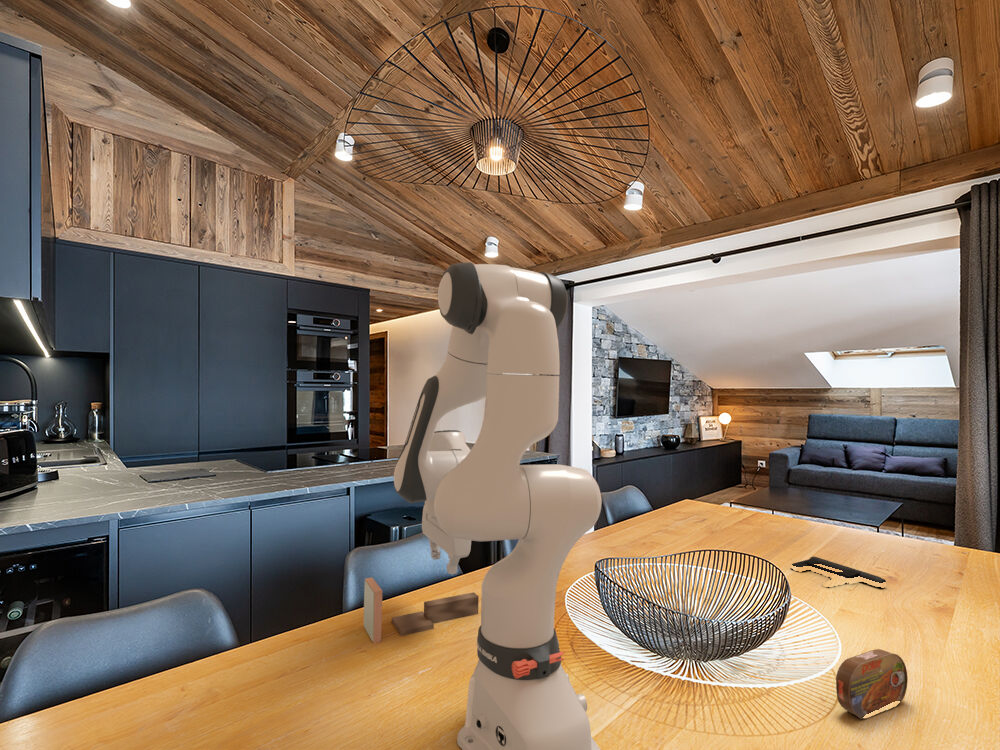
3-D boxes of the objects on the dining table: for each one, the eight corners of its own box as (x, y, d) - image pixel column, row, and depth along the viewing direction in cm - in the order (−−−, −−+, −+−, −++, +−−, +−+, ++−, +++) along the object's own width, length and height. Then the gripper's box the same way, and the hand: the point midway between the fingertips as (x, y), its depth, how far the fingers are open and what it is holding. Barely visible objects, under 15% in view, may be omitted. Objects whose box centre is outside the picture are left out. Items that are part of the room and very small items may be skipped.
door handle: (851, 588, 128) (889, 576, 134) (778, 563, 146) (815, 553, 152) (851, 602, 128) (889, 589, 134) (779, 575, 146) (815, 564, 152)
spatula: (469, 606, 118) (469, 588, 118) (482, 618, 112) (483, 600, 112) (391, 622, 109) (391, 603, 110) (401, 636, 103) (401, 616, 103)
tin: (851, 725, 78) (851, 669, 78) (831, 713, 81) (831, 659, 81) (910, 702, 84) (909, 651, 84) (889, 692, 87) (888, 642, 87)
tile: (381, 641, 101) (382, 590, 101) (372, 643, 100) (373, 592, 100) (371, 624, 108) (372, 577, 108) (363, 626, 107) (364, 578, 107)
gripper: (415, 494, 120) (414, 552, 120) (449, 515, 102) (447, 584, 102) (440, 491, 123) (439, 549, 123) (477, 512, 105) (475, 579, 105)
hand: (443, 565), depth 112 cm, fingers open, 8 cm apart
